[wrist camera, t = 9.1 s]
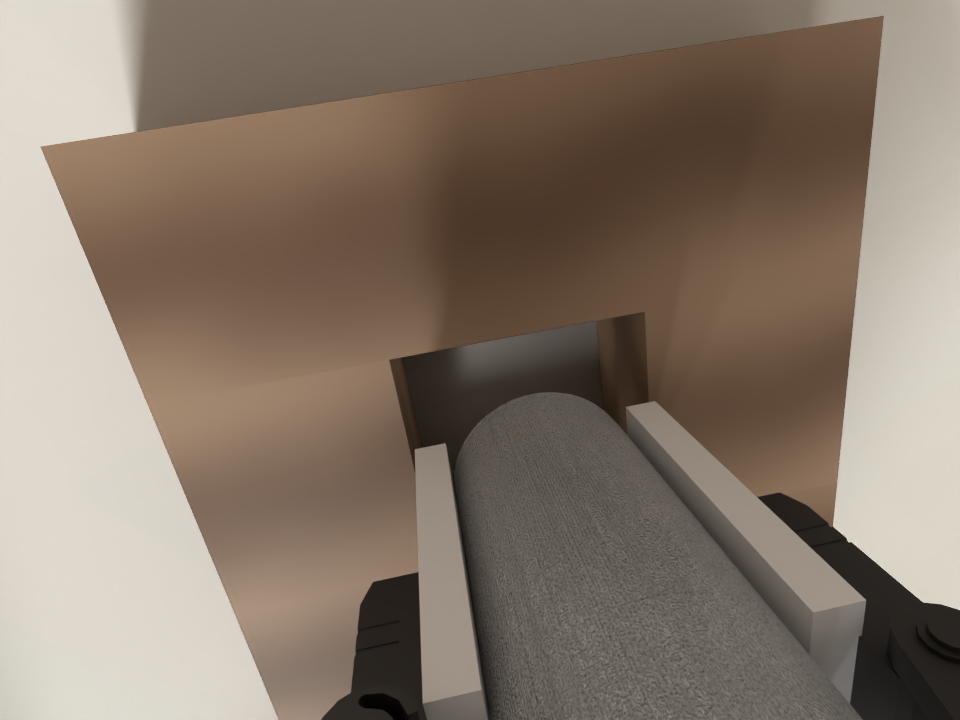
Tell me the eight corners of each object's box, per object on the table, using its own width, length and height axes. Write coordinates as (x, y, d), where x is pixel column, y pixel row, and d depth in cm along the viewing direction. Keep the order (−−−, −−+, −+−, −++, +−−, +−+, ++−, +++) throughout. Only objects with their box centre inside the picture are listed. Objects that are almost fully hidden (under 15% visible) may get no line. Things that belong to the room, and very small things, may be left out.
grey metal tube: (414, 479, 13) (436, 1284, 4) (546, 352, 13) (993, 937, 3) (536, 572, 15) (776, 1321, 5) (660, 463, 14) (1203, 1093, 4)
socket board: (752, 547, 22) (822, 625, 18) (312, 644, 21) (291, 749, 17) (769, 51, 16) (883, 16, 12) (135, 151, 14) (40, 147, 11)
